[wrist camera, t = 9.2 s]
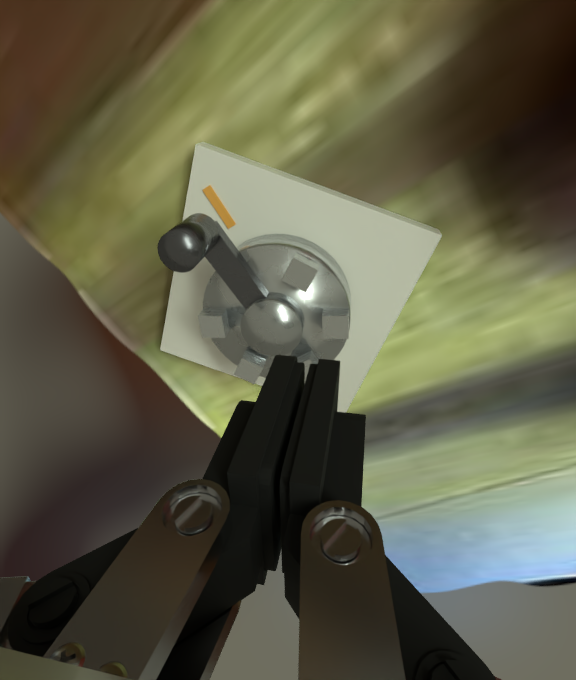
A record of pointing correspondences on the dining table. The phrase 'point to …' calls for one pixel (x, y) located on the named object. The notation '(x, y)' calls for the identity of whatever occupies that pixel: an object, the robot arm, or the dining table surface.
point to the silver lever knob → (263, 295)
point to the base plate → (309, 223)
